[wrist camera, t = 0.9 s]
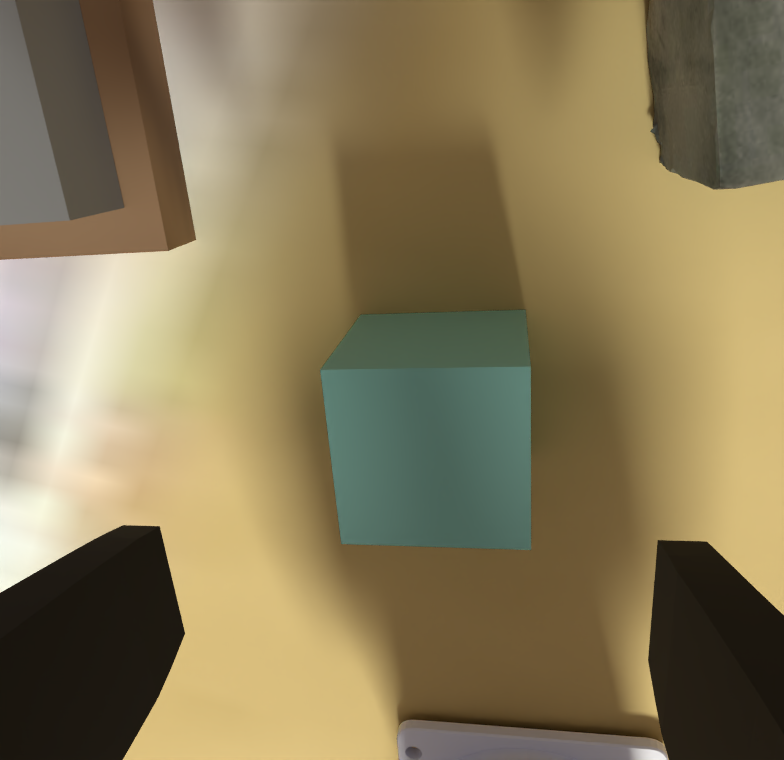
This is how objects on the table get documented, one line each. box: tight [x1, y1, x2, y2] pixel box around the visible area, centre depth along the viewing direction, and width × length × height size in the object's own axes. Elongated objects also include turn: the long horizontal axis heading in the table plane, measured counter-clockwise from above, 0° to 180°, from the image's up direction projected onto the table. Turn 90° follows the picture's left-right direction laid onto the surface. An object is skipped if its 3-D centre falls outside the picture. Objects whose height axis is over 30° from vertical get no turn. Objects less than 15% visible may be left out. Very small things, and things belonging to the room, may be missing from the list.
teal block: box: [320, 310, 531, 550], centre depth 15 cm, size 4×4×4 cm
